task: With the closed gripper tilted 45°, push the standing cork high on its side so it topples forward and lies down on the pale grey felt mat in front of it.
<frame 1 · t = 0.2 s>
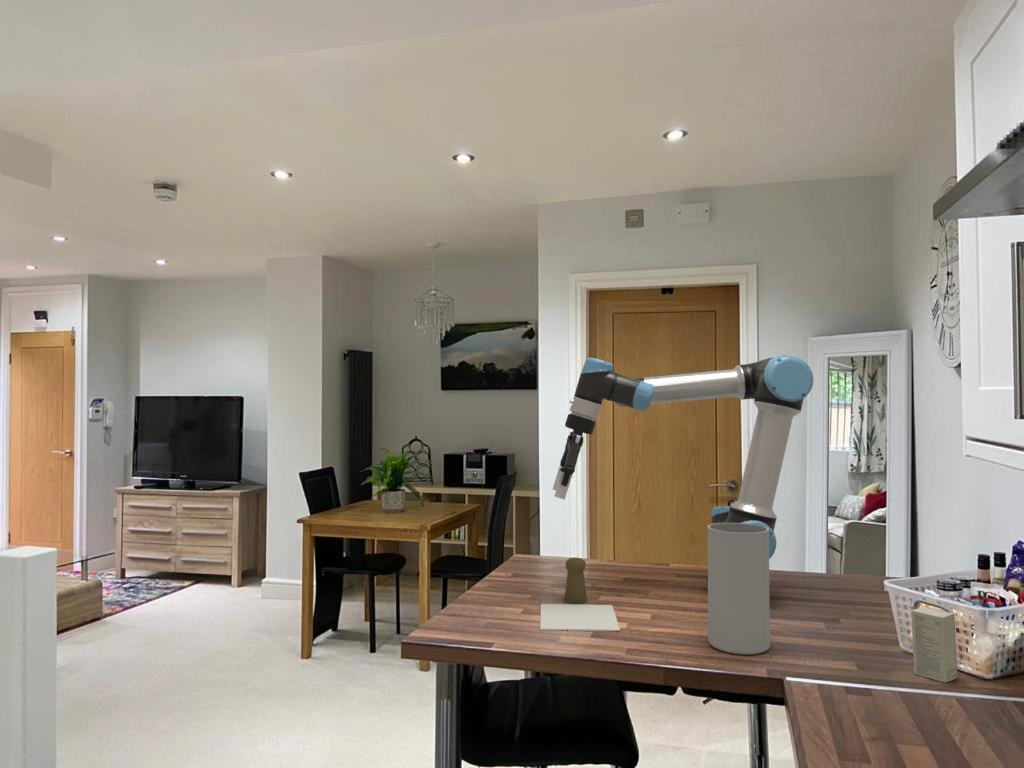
hand: (558, 494, 191), 28 cm above the table, tool tilted 15°, fingers open, 13 cm apart
felt mat: (578, 617, 175), on the table
skincare box: (934, 677, 138), on the table
cylinder vase: (738, 646, 155), on the table
cork: (575, 601, 190), on the table
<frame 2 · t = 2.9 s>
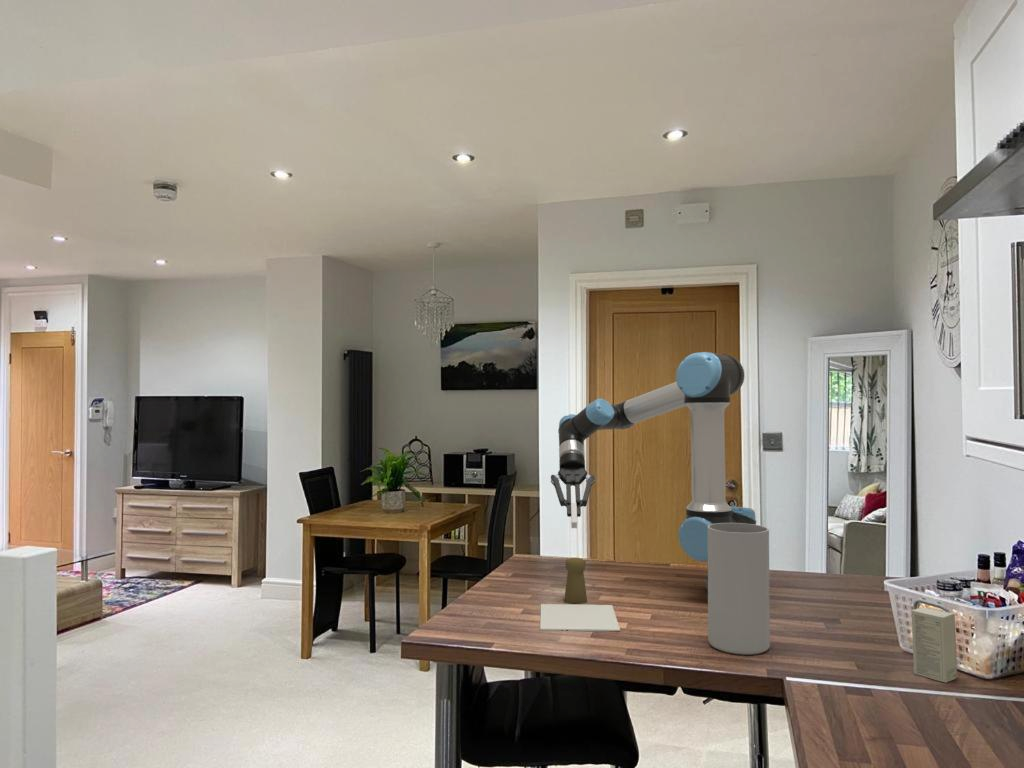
hand: (574, 525, 200), 18 cm above the table, tool tilted 45°, fingers closed
nothing on the table moved.
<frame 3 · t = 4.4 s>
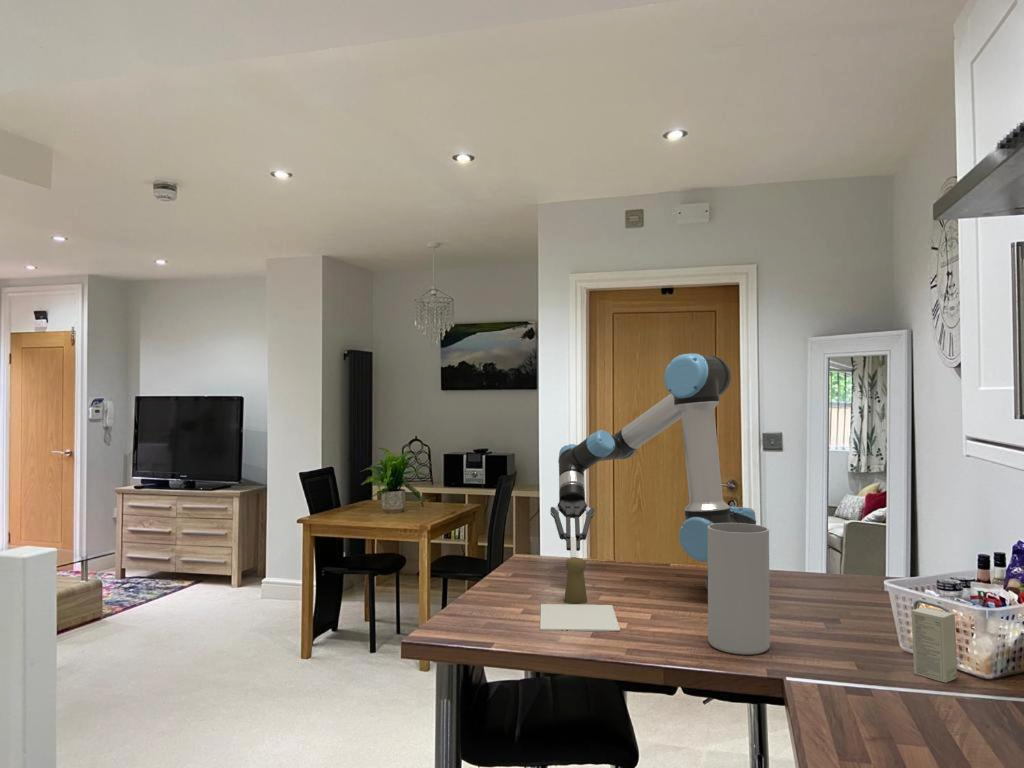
hand: (573, 559, 199), 9 cm above the table, tool tilted 45°, fingers closed
nothing on the table moved.
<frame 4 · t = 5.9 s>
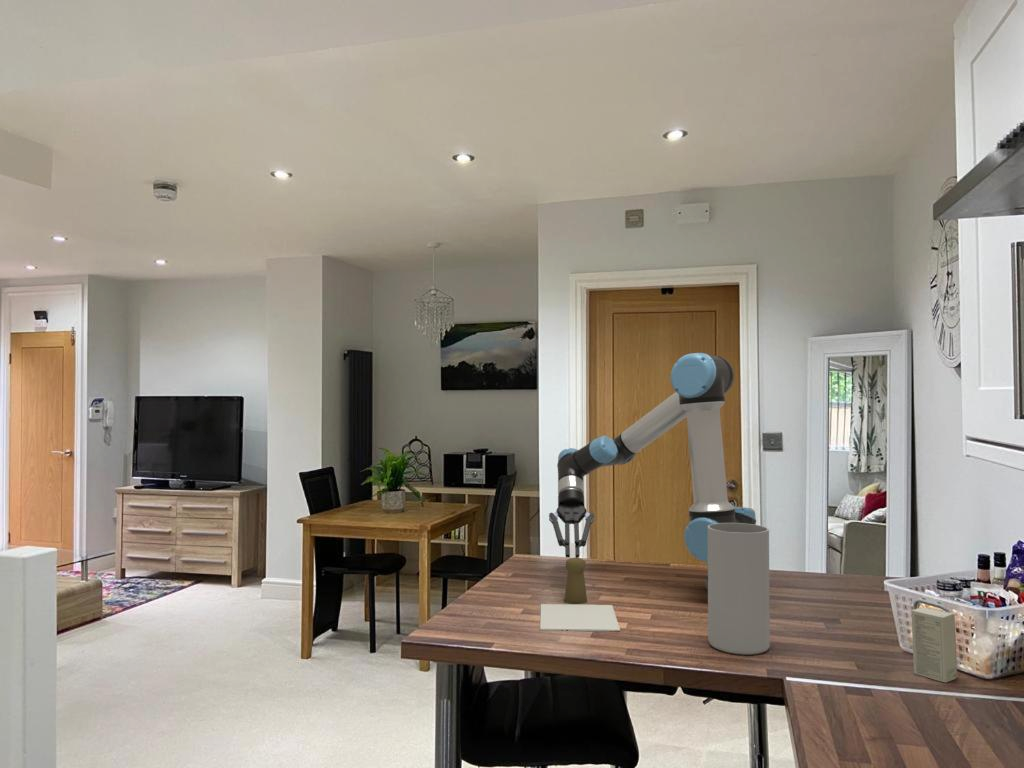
hand: (572, 567, 194), 8 cm above the table, tool tilted 45°, fingers closed
cork: (575, 601, 190), on the table, touching gripper
everything else where it was.
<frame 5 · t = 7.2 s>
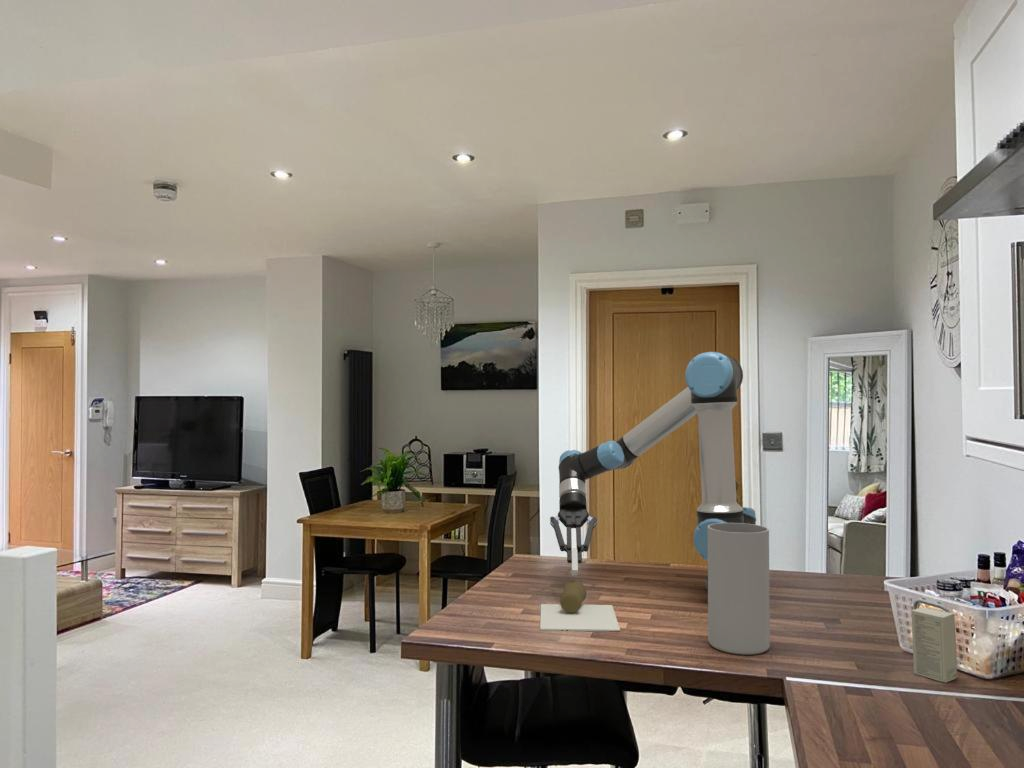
hand: (574, 573, 187), 8 cm above the table, tool tilted 45°, fingers closed
cork: (574, 592, 187), point 3 cm above the table, touching felt mat
everything else where it was.
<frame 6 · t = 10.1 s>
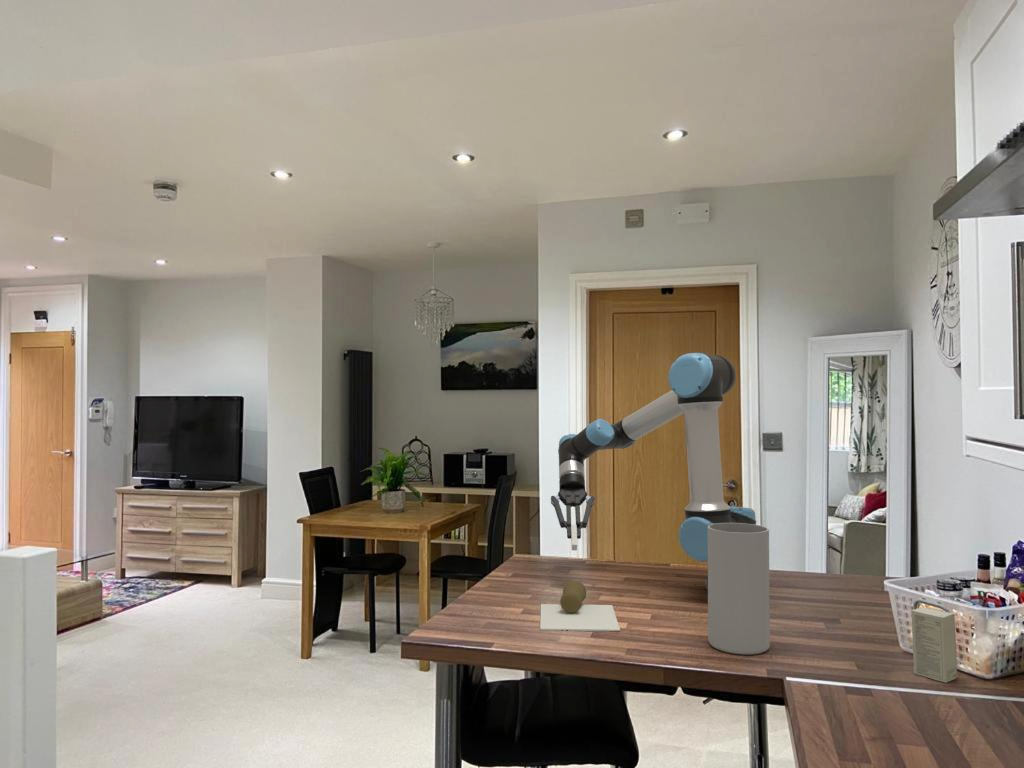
hand: (574, 547, 199), 12 cm above the table, tool tilted 45°, fingers closed
nothing on the table moved.
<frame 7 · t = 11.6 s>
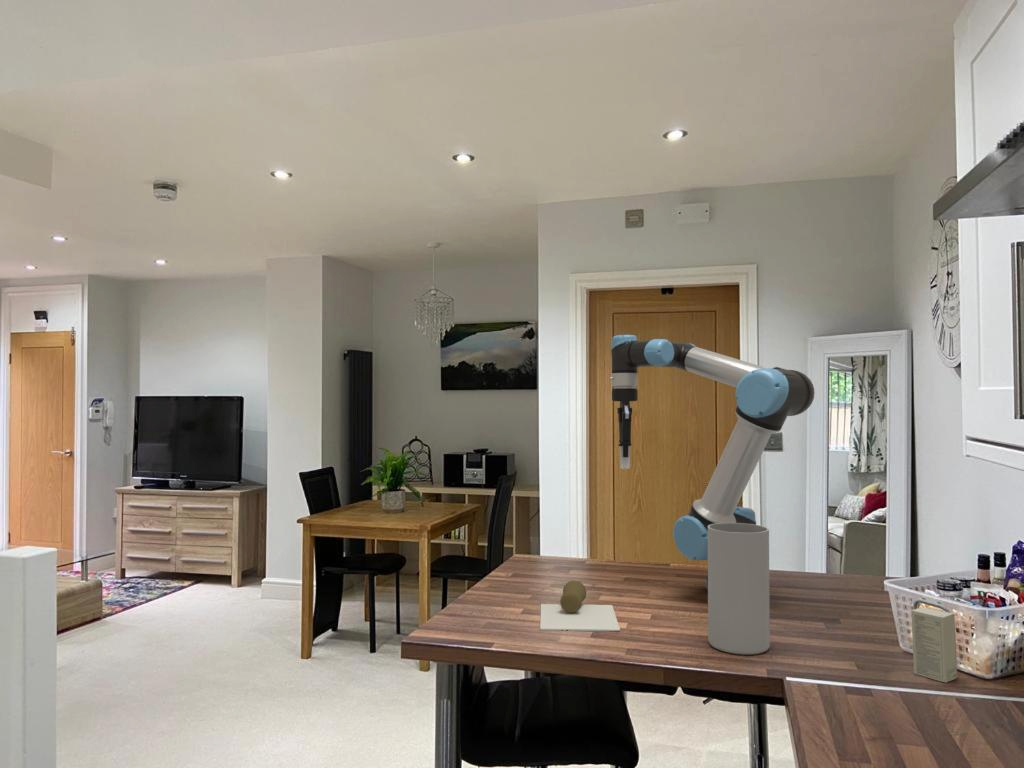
hand: (625, 468, 214), 32 cm above the table, tool pointing down, fingers closed
nothing on the table moved.
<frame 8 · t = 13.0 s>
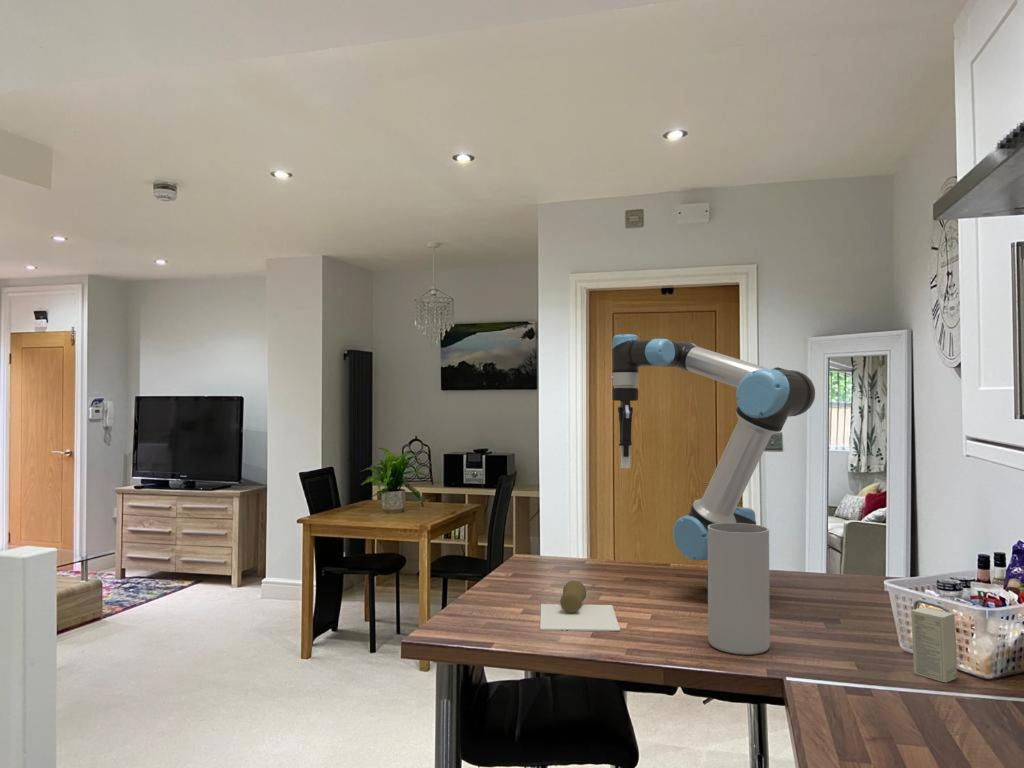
hand: (625, 467, 214), 32 cm above the table, tool pointing down, fingers closed
nothing on the table moved.
at the end: cork tilted 90°; cork inside the target area (0.4 cm from its centre), point 3.0 cm above the table; cork touching felt mat, table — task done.
